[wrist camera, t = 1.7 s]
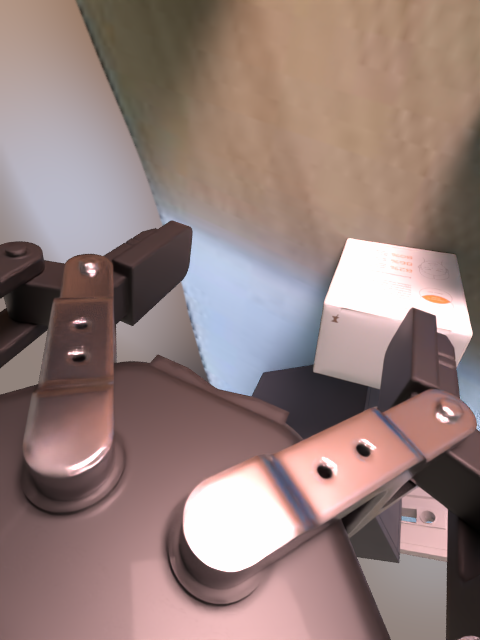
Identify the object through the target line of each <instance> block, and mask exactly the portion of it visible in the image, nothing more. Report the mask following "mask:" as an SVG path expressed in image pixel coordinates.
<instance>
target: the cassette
mask: <svg viewBox="0 0 480 640" xmlns="http://www.w3.org/2000/svg"><path fill="white" fill-rule="evenodd" d="M401 516H406V517H413V518H416V523H414V522H407V521H401V537H400V553H402V554H407V555H413V556H418V557H423V558H428V559H434V560H439V561H445V562H447V524H448V509H447V508H446V507H445V506H443V505H442V504H441V503H439V502H438V501H437V500H435V499H434V498H433V497H432V496H430V495H429V494H428V493H426V492H425V491H424V490H422V489H421V488H420V487H418V488H416V489H415V490H413V491H412V492H410V493H409V494H408V495H406V496H405V497H403V498H402V514H401ZM427 521H431V522H433V523H425V522H427Z"/></svg>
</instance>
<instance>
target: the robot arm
mask: <svg viewBox="0 0 480 640" xmlns="http://www.w3.org/2000/svg"><path fill="white" fill-rule="evenodd" d="M191 244H192V228H191V227H189V226H186V225H184V224H181V223H178V222H175V221H170V222H168V223H167V224H165V225H163V226H162V227H160V228H159V229H156V228H155V229H151V230H147V231H143V232H141V233H140V234H138V235H136V236H135V237H134V238H133V239H132V238H131V239H130V240H128V241H127V242H126V243H123V244H122V245H120V246H119V247H117V248H116V249H114V250H112V251H111V252H109V253H107V254H106V255H104V256H101V255H95V254H83V255H77V256H74V257H72V258H71V259H69V260H68V261H67V262H66V263H65V264H64V263H57V262H51V261H46V260H44V259H43V253H42V250H41V248H40V247H39V246H37V245H35V244H33V243H29V242H9V243H4V244H1V245H0V298H2V297H4V300H5V304H6V307H7V308H6V309H4V310H3V311H1V312H0V368H1V367H2V366H3V365H4V364H6V363H7V362H8V361H10V360H11V359H12V358H13V357H15V356H16V355H17V354H18V353H20V352H21V351H22V350H23V349H24V348H26V347H27V346H28V345H29V344H31V343H32V342H33V341H34V340H35V339H37V338H38V337H39V336H40V335H42V334H43V333H44V332H45V331H47V330H48V332H47V338H46V343H45V349H44V355H43V360H42V366H41V371H40V377H39V383H38V384H37V385H34V386H30V387H26V388H23V389H19V390H16V391H12V392H9V393H5V394H1V395H0V640H391V639H390V636H389V634H388V632H387V629H386V627H385V624H384V622H383V619H382V617H381V615H380V613H379V610H378V608H377V605H376V602H375V600H374V598H373V595H372V593H371V590H370V588H369V586H368V583H367V581H366V578H365V576H364V574H363V571H362V569H361V566H360V564H359V561H358V559H357V557H356V554H355V552H354V549H353V547H352V545H351V542H350V540H349V538H350V537H352V536H353V535H354V534H356V533H357V532H358V531H359V530H361V529H362V528H363V527H364V526H365V525H366V524H367V523H369V522H370V521H371V520H372V519H373V518H375V517H376V516H377V515H379V514H380V513H382V512H383V511H385V510H386V509H387V508H389V507H390V506H392V505H393V504H395V503H396V502H397V501H399V500H400V499H402V498H403V497H405V496H406V495H408V494H409V493H410V492H412V491H413V490H415V489H416V488H418V487H420V488H421V489H422V490H424V491H425V492H426V493H428V494H429V495H430V496H432V497H433V498H434V499H435V500H437V501H438V502H439V503H441V504H442V505H443V506H445V507H446V508H447V509H448V524H447V610H446V615H447V616H446V640H480V432H479V431H478V430H477V429H476V426H477V422H476V418H475V416H474V414H473V412H472V411H471V409H470V408H469V407H468V406H467V405H466V404H465V403H464V402H463V401H462V400H460V395H459V386H458V377H457V370H456V361H455V350H454V347H453V345H452V343H451V342H450V340H449V339H448V337H447V336H446V335H444V334H441V333H438V332H437V320H436V315H433V314H431V313H428V312H425V311H422V310H420V309H417V308H414V307H412V308H411V309H410V310H409V311H408V313H407V314H406V316H405V318H404V319H403V321H402V323H401V324H400V326H399V328H398V329H397V331H396V333H395V335H394V336H393V338H392V340H391V341H390V343H389V345H388V347H387V350H386V353H385V356H384V362H383V369H382V377H381V385H380V393H379V401H378V407H372V408H370V409H367V410H365V411H363V412H361V413H359V414H357V415H355V416H353V417H351V418H349V419H347V420H344V421H342V422H340V423H338V424H336V425H334V426H332V427H330V428H328V429H326V430H324V431H321V432H319V433H317V434H315V435H313V436H311V437H309V438H307V439H305V440H303V438H302V437H301V436H300V435H299V434H298V433H297V432H296V431H295V430H294V429H293V428H291V427H290V426H289V425H288V424H286V420H287V417H288V415H289V412H287V411H285V410H283V409H280V408H278V407H276V406H274V405H271V404H269V403H267V402H265V401H262V400H260V399H258V398H256V397H251V396H247V395H242V394H237V393H233V392H228V391H223V390H219V389H217V388H215V387H213V386H212V385H211V384H209V383H208V382H207V381H205V380H204V379H203V378H201V377H200V376H199V375H197V374H196V373H194V372H193V371H192V370H190V369H189V368H187V367H185V366H183V365H180V364H178V363H176V362H174V361H171V360H169V359H167V358H164V357H162V356H160V355H157V356H156V357H155V358H154V359H153V360H152V362H151V363H147V362H135V361H133V362H131V361H129V362H120V363H117V352H116V324H117V323H118V322H119V321H122V322H124V323H127V324H129V325H131V326H133V325H134V324H135V323H137V322H138V321H139V320H140V319H141V318H142V317H143V316H144V315H145V314H146V313H147V312H148V311H149V310H150V309H152V308H153V307H154V306H155V305H156V304H157V303H158V302H159V301H160V300H161V299H162V298H163V297H165V296H166V294H167V293H169V292H170V291H171V290H172V289H173V288H174V287H175V286H176V285H177V284H179V283H180V282H181V281H182V280H183V279H184V277H185V276H186V274H187V271H188V268H189V263H190V254H191Z"/></svg>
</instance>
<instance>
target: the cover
mask: <svg viewBox="0 0 480 640" xmlns="http://www.w3.org/2000/svg"><path fill="white" fill-rule="evenodd" d="M313 366H314V365H310V366H303V367H297V368H290V369H284V370H278V371H271V372H265V373H263V374H262V376H261V378H260V380H259V382H258V384H257V386H256V388H255V390H254V392H253V394H252V396H251V397H256V398H258V399H260V400H262V401H265V402H267V403H269V404H271V405H274V406H276V407H278V408H280V409H283V410H285V411H287V412H289V415H288V417H287V420H286V424H288V425H289V426H290V427H291V428H293V429H294V430H295V431H296V432H297V433H298V434H299V435H300V436H301V437H302V438H303V440H305V439H307V438H309V437H311V436H313V435H315V434H317V433H319V432H321V431H324V430H326V429H328V428H330V427H332V426H334V425H336V424H338V423H340V422H342V421H344V420H347V419H349V418H351V417H353V416H355V415H357V414H359V413H361V412H363V411H365V410H367V409H370V408H372V407H378V401H379V393H380V389H377V388H373V387H369V386H365V385H362V384H358V383H354V382H350V381H346V380H342V379H338V378H335V377H331V376H327V375H323V374H319V373H315V372H313ZM401 514H402V499H400V500H399V501H397V502H396V503H395V504H393V505H392V506H390V507H389V508H387V509H386V510H385V511H383V512H382V513H380V514H379V515H377V516H376V517H375V518H373V519H372V520H371V521H370V522H369V523H367V524H366V525H365V526H364V527H363V528H362V529H361V530H359V531H358V532H357V533H356V534H354V535H353V536H352V537H350V538H349V540H350V542H351V545H352V547H353V549H354V552H355V554H356V557H361V558H367V559H374V560H381V561H388V562H396V563H399V558H400V557H399V555H400V537H401Z"/></svg>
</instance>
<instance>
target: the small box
mask: <svg viewBox="0 0 480 640" xmlns="http://www.w3.org/2000/svg"><path fill="white" fill-rule="evenodd" d="M412 307H414V308H417V309H420V310H422V311H425V312H428V313H431V314H433V315H436V320H437V332H438V333H441V334H444V335H446V336H447V337H448V339H449V340H450V342H451V343H452V345H453V347H454V350H455V361H456V368H457V366H458V364H459V362H460V360H461V358H462V356H463V354H464V351H465V349H466V347H467V345H468V343H469V341H470V339H471V337H472V329H471V324H470V319H469V314H468V309H467V305H466V300H465V295H464V290H463V285H462V281H461V276H460V271H459V266H458V262H457V256H456V255H455V254H448V253H441V252H435V251H428V250H422V249H415V248H408V247H402V246H395V245H389V244H382V243H375V242H369V241H362V240H356V239H347V241H346V244H345V247H344V250H343V252H342V255H341V258H340V261H339V264H338V266H337V269H336V271H335V274H334V277H333V279H332V282H331V284H330V287H329V290H328V293H327V295H326V298H325V301H324V305H323V311H322V317H321V323H320V329H319V335H318V342H317V348H316V354H315V360H314V366H313V372H315V373H319V374H323V375H327V376H331V377H335V378H338V379H342V380H346V381H350V382H354V383H358V384H362V385H365V386H369V387H373V388H377V389H380V385H381V377H382V369H383V362H384V356H385V353H386V350H387V347H388V345H389V343H390V341H391V340H392V338H393V336H394V335H395V333H396V331H397V329H398V328H399V326H400V324H401V323H402V321H403V319H404V318H405V316H406V314H407V313H408V311H409V310H410V309H411V308H412Z"/></svg>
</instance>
